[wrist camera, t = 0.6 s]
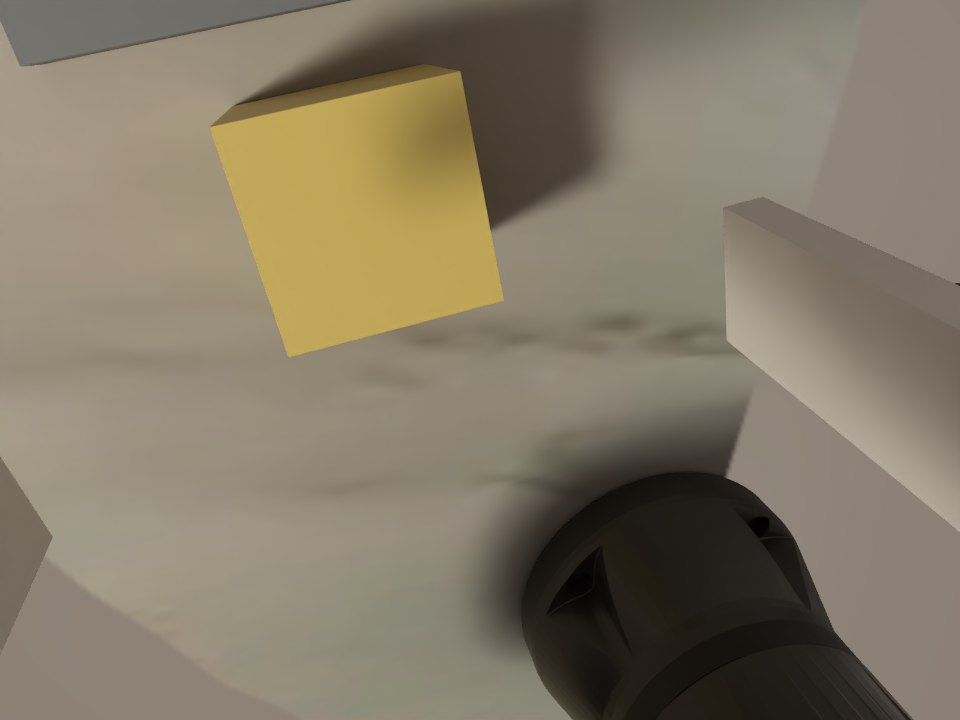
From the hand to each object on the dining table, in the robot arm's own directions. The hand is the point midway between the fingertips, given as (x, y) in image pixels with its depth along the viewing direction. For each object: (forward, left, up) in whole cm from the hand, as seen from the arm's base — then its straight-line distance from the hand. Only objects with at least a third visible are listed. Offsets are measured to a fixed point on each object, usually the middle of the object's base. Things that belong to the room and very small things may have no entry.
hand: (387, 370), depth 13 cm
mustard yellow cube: (0, -1, -17) cm, 17 cm away
